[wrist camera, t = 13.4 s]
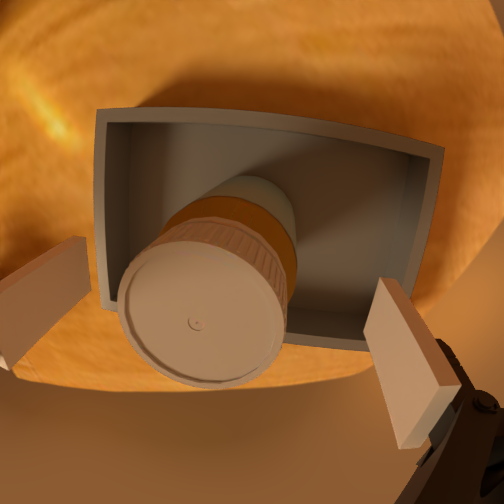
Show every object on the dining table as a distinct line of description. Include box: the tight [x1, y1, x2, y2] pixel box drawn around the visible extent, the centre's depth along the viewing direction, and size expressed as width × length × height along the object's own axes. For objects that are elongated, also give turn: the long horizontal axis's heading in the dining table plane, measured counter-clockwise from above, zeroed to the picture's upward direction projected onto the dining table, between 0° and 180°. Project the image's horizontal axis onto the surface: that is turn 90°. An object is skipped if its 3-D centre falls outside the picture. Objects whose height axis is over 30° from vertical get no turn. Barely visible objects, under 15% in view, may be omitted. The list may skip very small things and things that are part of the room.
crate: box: [93, 107, 445, 352], centre depth 23 cm, size 16×24×5 cm, turn 84°
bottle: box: [117, 175, 297, 389], centre depth 18 cm, size 7×7×15 cm
